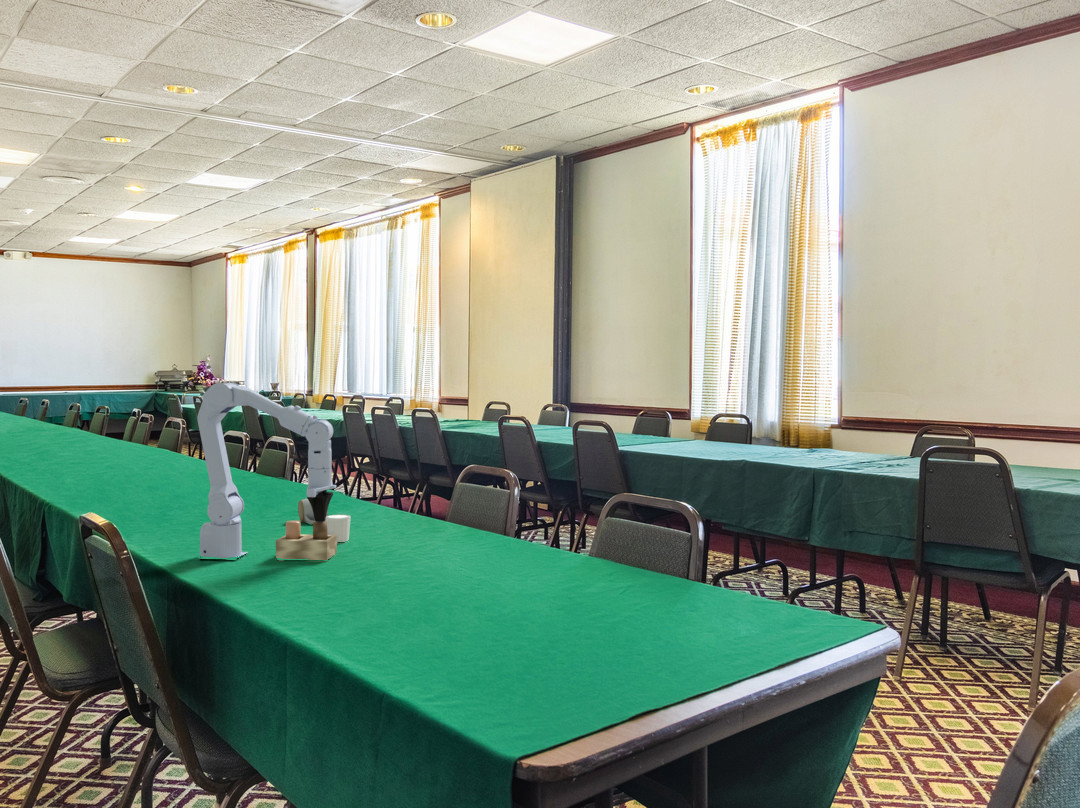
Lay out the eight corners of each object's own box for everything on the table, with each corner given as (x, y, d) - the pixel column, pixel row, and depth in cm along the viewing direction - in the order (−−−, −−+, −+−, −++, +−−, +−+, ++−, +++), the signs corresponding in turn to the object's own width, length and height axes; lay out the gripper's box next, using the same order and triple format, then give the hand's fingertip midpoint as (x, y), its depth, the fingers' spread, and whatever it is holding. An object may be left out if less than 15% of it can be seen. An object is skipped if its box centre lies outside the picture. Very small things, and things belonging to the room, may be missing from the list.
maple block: (275, 560, 212) (275, 540, 211) (287, 553, 219) (287, 534, 219) (327, 561, 211) (327, 541, 211) (336, 554, 219) (336, 535, 218)
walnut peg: (310, 542, 213) (310, 523, 213) (315, 539, 217) (315, 520, 216) (325, 542, 213) (324, 523, 213) (329, 539, 216) (329, 521, 216)
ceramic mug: (297, 520, 266) (296, 496, 265) (323, 518, 270) (323, 494, 269) (303, 526, 256) (303, 501, 256) (331, 524, 260) (331, 499, 260)
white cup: (354, 539, 238) (354, 514, 238) (346, 544, 231) (346, 518, 231) (330, 538, 239) (330, 513, 238) (321, 543, 232) (321, 518, 232)
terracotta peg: (283, 541, 213) (283, 522, 213) (288, 539, 217) (288, 520, 217) (297, 542, 213) (297, 523, 213) (302, 539, 217) (302, 520, 217)
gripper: (326, 471, 206) (326, 527, 207) (343, 464, 221) (344, 516, 221) (298, 471, 207) (298, 526, 207) (317, 464, 221) (317, 516, 222)
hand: (320, 521), depth 214 cm, fingers closed
